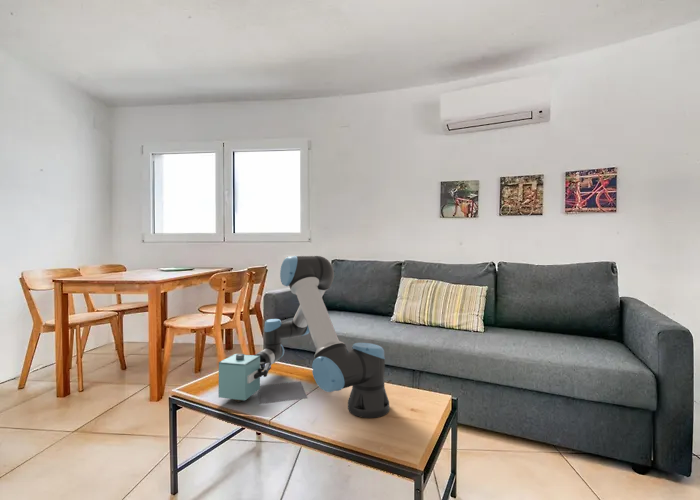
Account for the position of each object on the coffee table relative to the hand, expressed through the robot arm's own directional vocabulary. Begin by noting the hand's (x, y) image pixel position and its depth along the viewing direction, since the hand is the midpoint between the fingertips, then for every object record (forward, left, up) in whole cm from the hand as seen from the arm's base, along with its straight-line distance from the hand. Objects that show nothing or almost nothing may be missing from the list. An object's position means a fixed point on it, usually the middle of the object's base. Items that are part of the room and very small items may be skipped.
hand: (234, 378), depth 127 cm
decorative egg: (+3, -2, -10) cm, 11 cm away
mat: (+6, -18, -10) cm, 22 cm away
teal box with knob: (+4, -2, -7) cm, 8 cm away
